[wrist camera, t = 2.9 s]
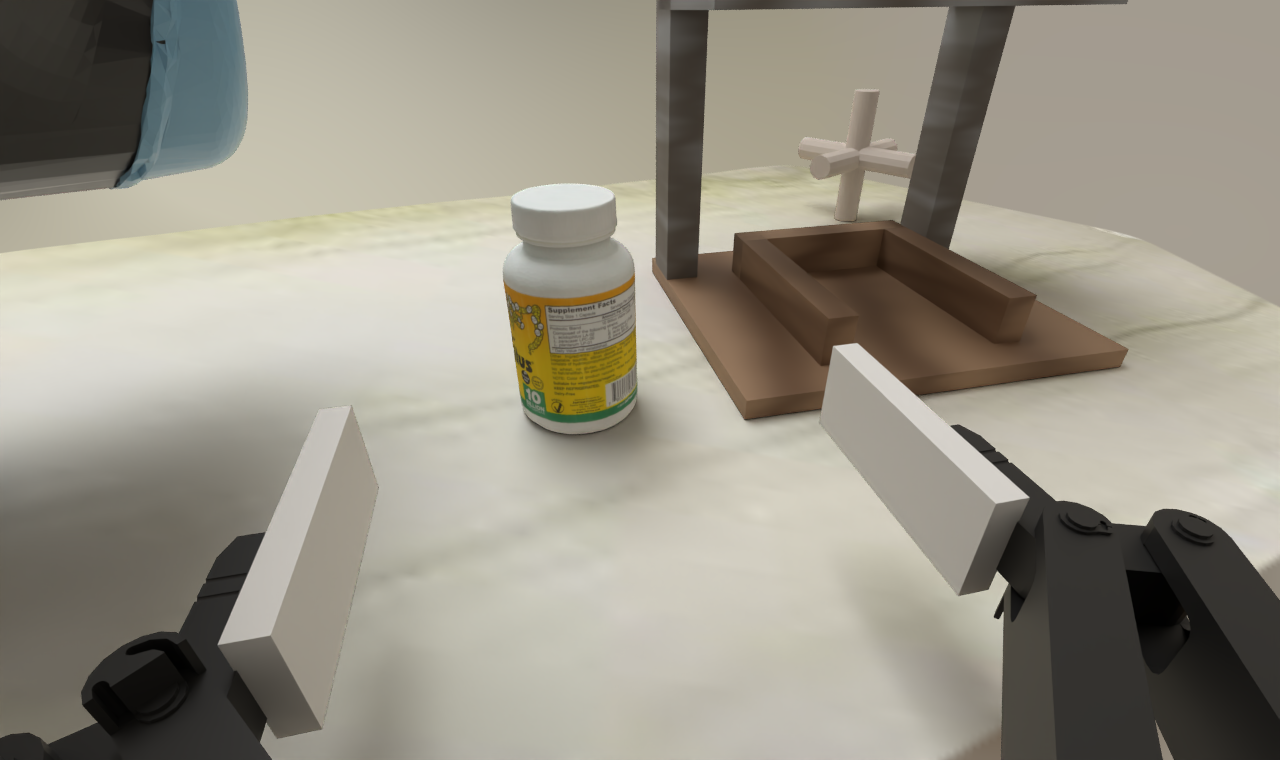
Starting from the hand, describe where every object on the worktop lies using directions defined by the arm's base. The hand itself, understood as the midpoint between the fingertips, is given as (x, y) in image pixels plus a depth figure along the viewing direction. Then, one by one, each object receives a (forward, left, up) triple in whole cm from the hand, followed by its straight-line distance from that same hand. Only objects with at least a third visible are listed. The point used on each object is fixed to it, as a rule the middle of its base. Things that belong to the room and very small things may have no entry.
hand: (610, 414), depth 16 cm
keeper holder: (+17, +16, -6) cm, 24 cm away
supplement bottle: (0, +10, -6) cm, 12 cm away
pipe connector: (+26, +33, -6) cm, 42 cm away
